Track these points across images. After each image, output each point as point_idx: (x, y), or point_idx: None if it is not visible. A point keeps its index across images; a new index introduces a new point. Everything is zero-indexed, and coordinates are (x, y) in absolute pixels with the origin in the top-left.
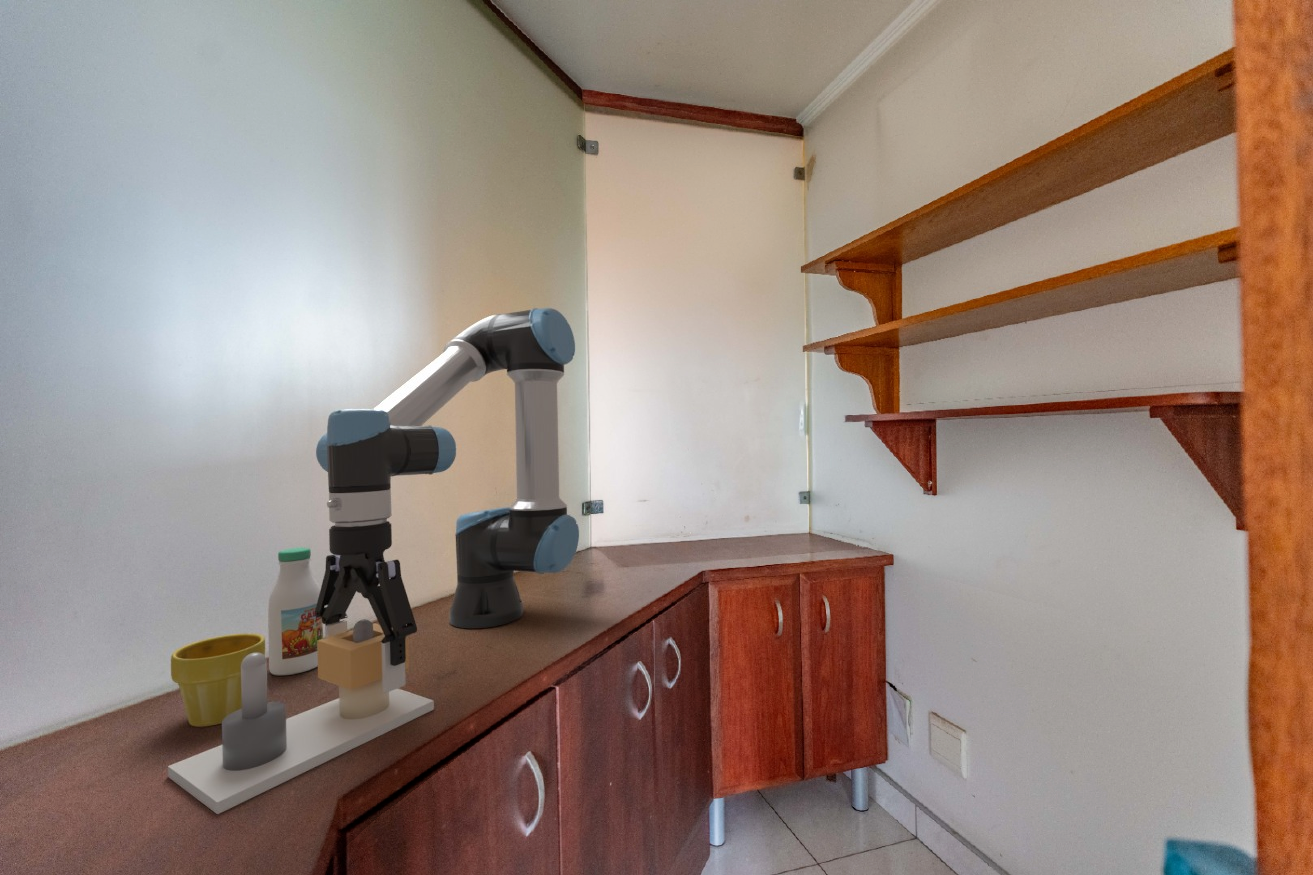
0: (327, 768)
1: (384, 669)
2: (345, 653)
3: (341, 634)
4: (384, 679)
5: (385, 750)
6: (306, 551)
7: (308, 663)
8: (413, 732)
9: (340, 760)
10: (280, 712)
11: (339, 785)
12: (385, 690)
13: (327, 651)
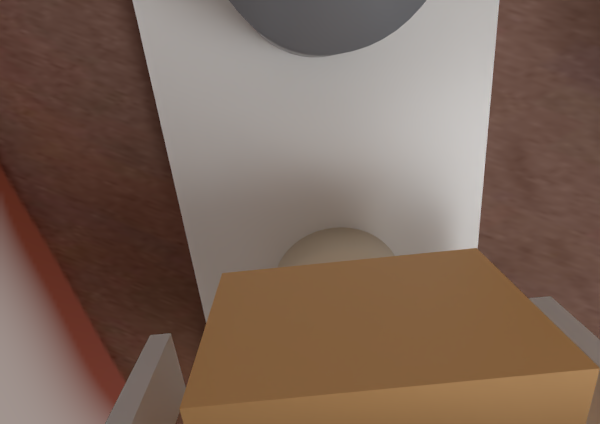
0: (128, 100)
1: (124, 403)
2: (242, 379)
3: None
4: (141, 369)
5: (108, 227)
6: None
7: None
8: (147, 302)
9: (145, 139)
10: (235, 2)
11: (9, 83)
12: (151, 340)
13: (445, 343)
